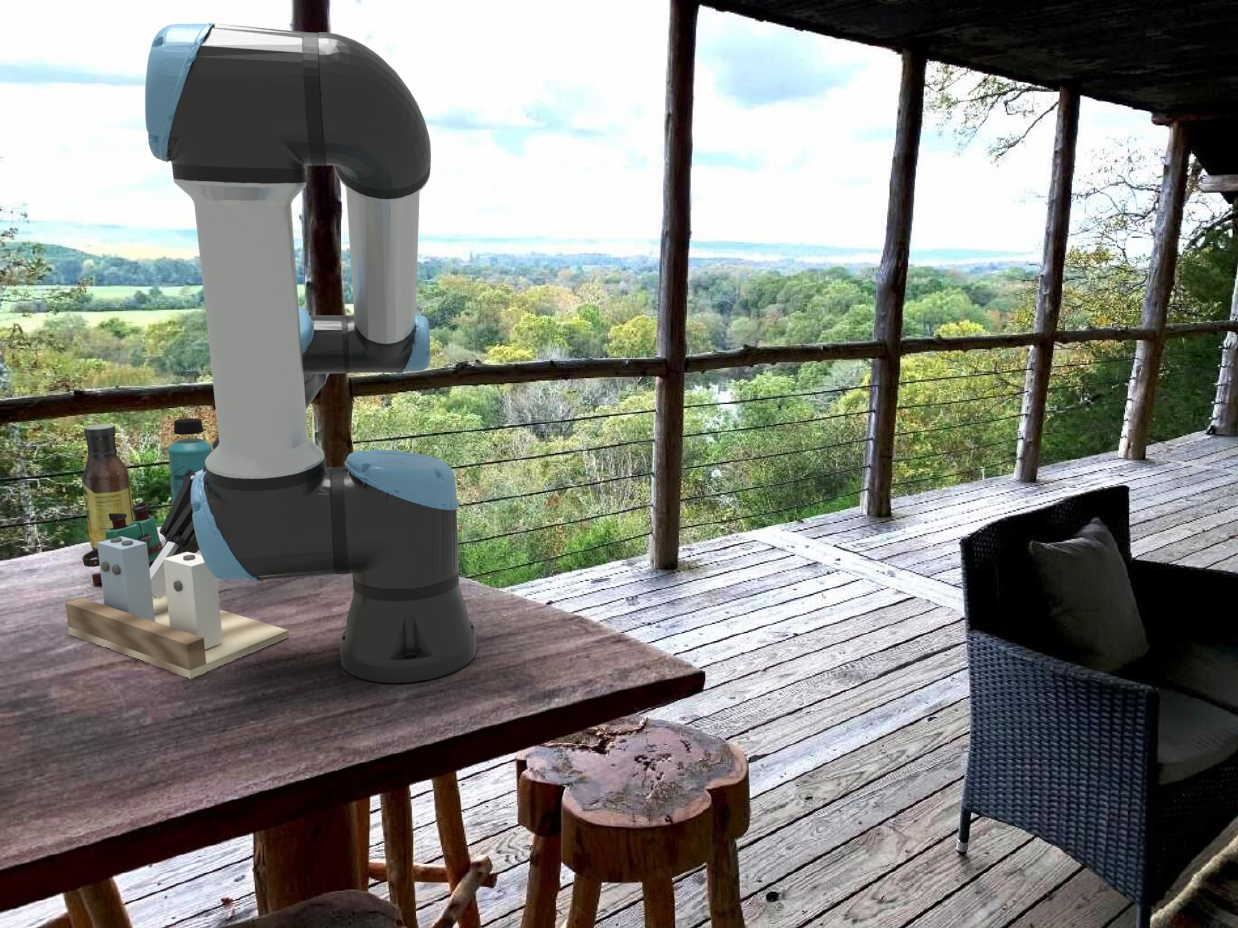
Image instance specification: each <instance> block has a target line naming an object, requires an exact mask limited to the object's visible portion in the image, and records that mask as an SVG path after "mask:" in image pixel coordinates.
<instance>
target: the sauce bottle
mask: <svg viewBox="0 0 1238 928" xmlns="http://www.w3.org/2000/svg"><path fill="white" fill-rule="evenodd" d="M83 431H84V432H83V433H84V437H85V438H86V445H87V455H88V456H87V460H86V463H85V467H84V471H83V474H82V478H81V482H82V483H81V484H82V491H83V498H84V505H85V513H86V514H85V515H86V520H87V522H86V523H87V529H88V535H89V536H88V537H89V544H90V546H91V549H92V551H93V550H95V549H98V546H97V543H98V542H101V541H105V540H106V530H108V529H111V528H113V524H112V521H110V519H109V515H108V514H110V513H126V515H127V518H125V520H126V525H130V522H131V521H133V520H136V517H135V513H134V512H133V510H132V507H133V506H134V505H133V504H134V503H133V497H132V496H133V494H132V488H131V483H130V479H129V477H130V476H129V470H128V467H127V466H126V464H125V463H124V461H123V460H122V459H121V458H120V457H119V456H118V449H117V443H116V425H115V424H112V423H96V424H89V425H85V426H84V428H83ZM97 558H99V556H97Z"/></svg>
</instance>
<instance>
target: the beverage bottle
mask: <svg viewBox="0 0 1238 928" xmlns="http://www.w3.org/2000/svg"><path fill="white" fill-rule="evenodd" d="M201 433H204V428H203V421H202V419H201V418H194V417H192V418H191V417H188V418H181V419H179V418H178V419H176V420H174V422H173V434H174V435H179V436H180V435H182V436H183V435H187V436H188V435H196V434H197V435H198V434H201ZM212 451H213V445H211V444H210V442H208V441H206V440H204V439H202V438H185V439H178V440H175V441H173V442H172V444H170V445H169V446H168V448H167V453H168V463H169V474H170V475H169V477H168V478H169V483H170V488H171V489H170V494H169V495H170V499H171V505H173V503H174V501H175V499H176V497H177V495H178V493H179V491H180V489H181V486H182V484H183V478H184V474H185V472H186V471H188V470H192V471H193V472H194V473H196V472H198V471H201V470H203V468H204V466H205V460H206V458H207V457H208V456H209V454H210V453H211V452H212Z"/></svg>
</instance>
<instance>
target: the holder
mask: <svg viewBox="0 0 1238 928" xmlns="http://www.w3.org/2000/svg"><path fill="white" fill-rule="evenodd" d="M153 607H154V617H155V622H154V621H151V620H148V619H145V618H142V617H139V616H136V615H133V614H130V613H127V612H124V611H121V610H118V609H115V608H112V607H109V606H106V605H104V603H99V602H96V601H93V600H90V599H87V598H84V597H80V598H77V599H73V600H70V601H66V602H65V610H66V612H65V613H66V618H67V626H68V628H67V629H68V634H69V635H70V636H73V637H76V638H79V639H81V640H84V641H86V642H89V643H92V644H94V643H95V645H97V646H99V645H100V646H99V647H102V648H105V647H108V648H110V649H113V650H115V651H114V652H116V651H117V652H116V653H118V652H120V653H119V654H121V653H122V655H124V654H125V655H124V656H126V655H128V656H127V657H129V656H132V657H135V658H137V659H140V660H143V661H145V662H149V663H151V664H153V665H156V666H160V667H162V668H165V669H166V670H165V671H167V670H169V671H171V672H170V673H172V672H174V673H173V674H175V673H177V674H178V676H180V675H182V676H181V677H183V676H185V677H184V678H186V677H188V678H189V680H192V679H194V677H195V678H196V676H197V677H199V676H202V675H204V674H206V672H207V671H209V670H211V671H213V670H212V669H214V668H216V667H217V666H221V665H223V664H225V663H226V662H229V661H231V660H234V659H236V658H238V657H240V656H244V655H246V654H248V653H251V652H252V651H255V650H257V649H259V648H261V647H266V648H268V647H267V646H269V645H271V644H274V643H276V642H278V641H281V640H283V639H286V638H288V639H289V638H290V635H289V634H290V633H289V629H286V628H284V627H283V628H282V627H278V626H275V625H273V624H270V623H269V624H268V623H266V622H262V621H259V620H257V619H252V618H249V617H245V616H243V615H239V614H236V613H233V612H229V611H226V610H224V609H220V617H221V628H222V640H223V643H220V644H218V645H215V646H213V647H210V648H208V649H205V646H204V638H202V637H199V636H196V635H193V634H190V633H187V632H184V631H181V630H178V629H175V628H172V627H170V622H169V612H168V602H167V594H164V595H163V596H162V598H161V599H158V598H155V597H154V598H153ZM286 640H287V639H286ZM283 641H284V640H283ZM281 642H282V641H281ZM278 643H279V642H278ZM276 644H277V643H276ZM274 645H275V644H274ZM271 646H272V645H271ZM269 647H270V646H269ZM110 649H109V650H110ZM113 650H112V651H113ZM132 657H131V658H132ZM137 659H136V660H137ZM140 660H139V661H140ZM145 662H144V663H145ZM151 664H150V665H151ZM153 665H152V666H153ZM156 666H155V667H156ZM223 666H224V665H223ZM221 667H222V666H221ZM216 669H217V668H216ZM214 670H215V669H214ZM169 671H168V672H169ZM209 672H210V671H209ZM207 673H208V672H207ZM177 674H176V675H177ZM198 675H199V676H198ZM188 678H187V679H188ZM191 678H192V679H191Z"/></svg>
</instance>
